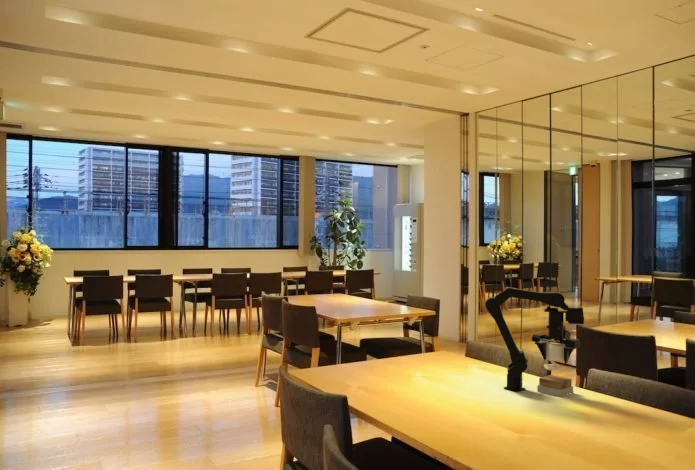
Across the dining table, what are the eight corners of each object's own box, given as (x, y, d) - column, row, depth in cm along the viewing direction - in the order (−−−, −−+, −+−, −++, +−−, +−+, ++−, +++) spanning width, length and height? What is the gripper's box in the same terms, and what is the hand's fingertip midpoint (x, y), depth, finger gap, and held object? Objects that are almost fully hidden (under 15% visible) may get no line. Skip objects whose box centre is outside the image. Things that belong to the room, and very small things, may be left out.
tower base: (560, 398, 223) (560, 390, 223) (537, 392, 231) (537, 385, 231) (573, 394, 230) (573, 386, 230) (550, 389, 237) (550, 381, 237)
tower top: (560, 389, 224) (560, 382, 224) (539, 385, 231) (539, 377, 231) (571, 386, 230) (571, 378, 230) (550, 381, 237) (550, 374, 237)
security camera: (566, 370, 228) (566, 345, 228) (548, 370, 228) (549, 345, 228) (560, 367, 234) (561, 342, 234) (543, 366, 234) (543, 342, 234)
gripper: (588, 324, 229) (587, 363, 229) (545, 319, 243) (544, 355, 243) (574, 326, 222) (573, 367, 221) (531, 321, 236) (530, 358, 236)
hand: (555, 361), depth 231 cm, fingers closed on security camera, 9 cm apart
